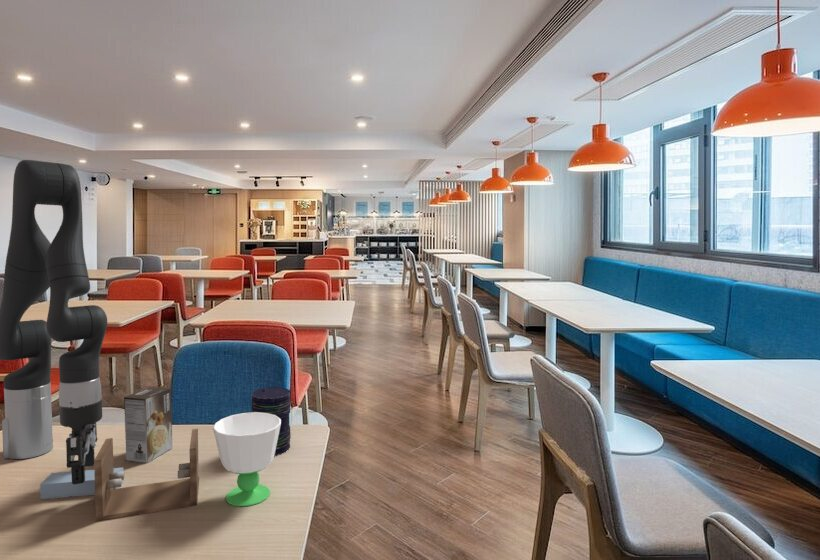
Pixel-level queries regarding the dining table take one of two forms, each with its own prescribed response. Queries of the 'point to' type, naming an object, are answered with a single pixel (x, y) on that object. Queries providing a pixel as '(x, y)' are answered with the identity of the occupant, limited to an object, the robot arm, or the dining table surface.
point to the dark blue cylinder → (275, 411)
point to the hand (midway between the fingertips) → (83, 474)
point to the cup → (247, 452)
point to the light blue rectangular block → (69, 485)
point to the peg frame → (142, 487)
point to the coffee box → (148, 424)
